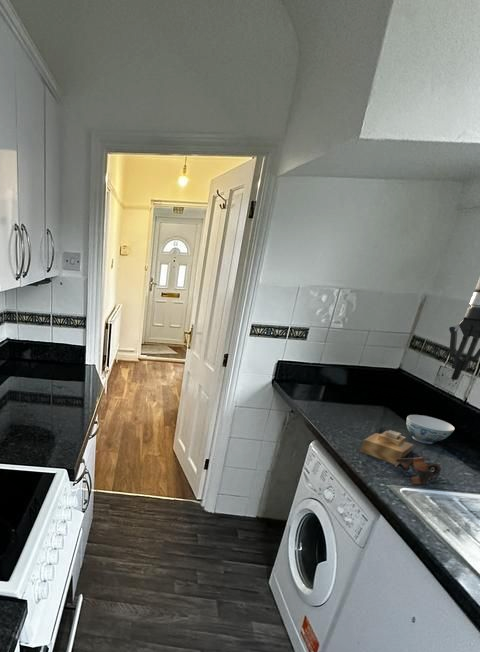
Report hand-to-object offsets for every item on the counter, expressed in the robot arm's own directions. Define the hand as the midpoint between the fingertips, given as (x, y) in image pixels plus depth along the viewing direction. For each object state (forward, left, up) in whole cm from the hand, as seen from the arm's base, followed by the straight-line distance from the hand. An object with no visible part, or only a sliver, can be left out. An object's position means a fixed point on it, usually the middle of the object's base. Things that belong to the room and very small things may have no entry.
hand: (454, 378), depth 141 cm
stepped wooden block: (+8, +16, -28) cm, 33 cm away
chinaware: (+4, -13, -28) cm, 31 cm away
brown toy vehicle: (-4, +27, -28) cm, 40 cm away
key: (+8, +14, -21) cm, 27 cm away
